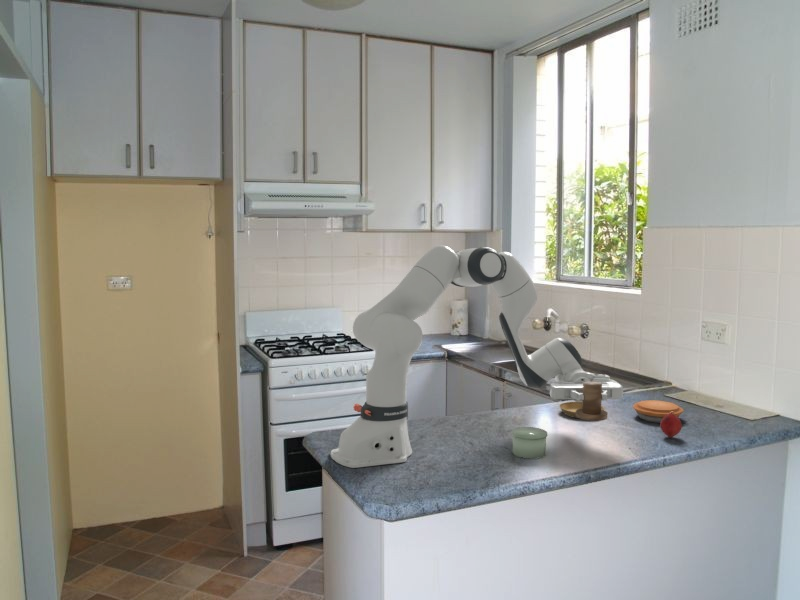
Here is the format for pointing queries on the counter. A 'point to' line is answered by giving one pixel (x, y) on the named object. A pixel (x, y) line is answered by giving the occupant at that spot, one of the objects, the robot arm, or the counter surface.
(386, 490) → the counter surface
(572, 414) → the plant saucer
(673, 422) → the onion
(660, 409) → the pie
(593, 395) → the lid
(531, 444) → the canister
